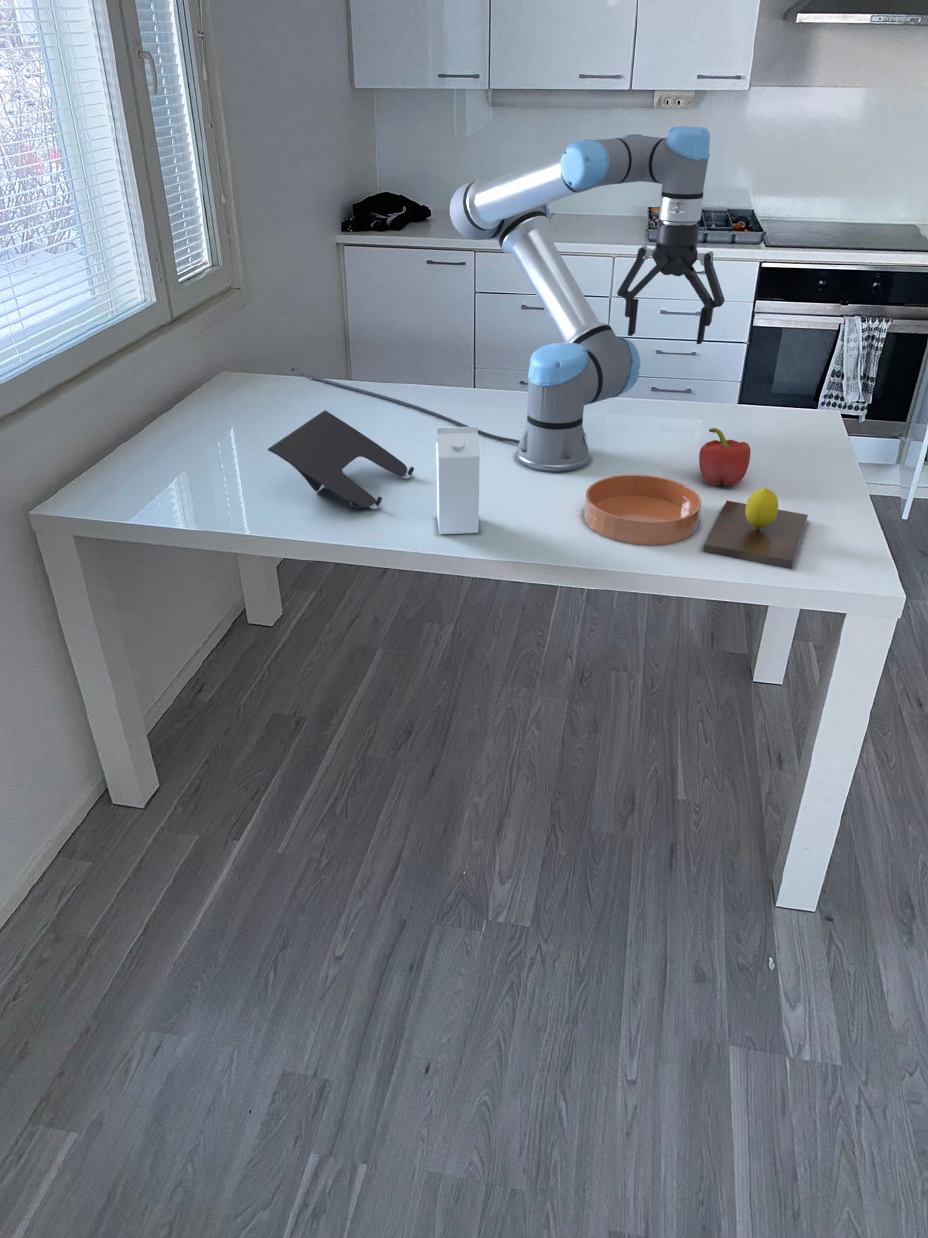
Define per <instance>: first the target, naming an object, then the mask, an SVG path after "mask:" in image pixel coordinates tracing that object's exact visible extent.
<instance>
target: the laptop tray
mask: <svg viewBox="0 0 928 1238" xmlns="http://www.w3.org/2000/svg"><path fill="white" fill-rule="evenodd" d="M267 451H268V452H271V453H272V454H274V455H276V456H277V457H279V458H280V459H283V460H284V461H285V462H287V463H288V464H289V465H291V466H292V467H293V468H294V469H295V470H296V471H297V472H298V473H299V474H300V475H301V476H302V477H303V478H304V480H306V482H307V483H308V485H309V486H310V487H311V489H312V490H313V492H318V491H319V490H320V489H321V487H322V486H324V487H326V488H327V489H329V490H331V491H332V492H334V493H336V494H337V495H339V496H341V497H342V498H344V499H346V500H347V501H349V502H348V503H349V504H350V507H352V508H356V509H360V507H362V508H370V509H372V510H376V509H378V508H379V506H381V505H380V504H381V503H382V500H383V497H381V496H377V497H374V496H373V495H372V494H370V492H368V491H367V490H366V489H364V488H363V487H362V486H360V485H359V483H357V482H355V481H354V480H353V479H351V478H350V477H349V476H347V475H346V474H345V473H344V471H343V469H344V468H345V467H347V466H348V465H349V464H350V463H351V462H353V461H354V460H355V459H357V458H365V459H367V460H369V461H371V462H372V463H373V464H375V465H377V466H379V467H381V468H383V469H384V470H386V471H388V472H390V473H392V474H394V475H396V476H398V477H400V478H403V479H409V478H410V477H411V476H412V474H413V472H414V470H415V468H414V467H413V466H410V467H409V468H408V467H407V465H406V464H405V463H404V462H402V460H400V459H399V458H397V457H396V456H394V455H393V454H392V453H391V452H389V451H388V450H387V449H385V448H383V447H382V446H380V444H378V443H377V442H375V441H373V440H372V439H371V438H369V437H368V436H366V435H364V434H363V433H362V432H360V431H359V430H357V429H356V428H354V427H353V426H351V425H350V424H348V423H346V422H345V421H343V420H342V419H340V418H338V417H337V416H335V415H334V414H332V413H331V412H329V411H327V410H326V409H325V410H323V411H321V412H320V413H318V414H317V415H315V416H314V417H312V418H311V419H309V420H308V421H307V422H305V423H303V424H302V425H300V426H298V428H296V429H295V430H293V431H292V432H291V433H289V434H287V435H286V436H284V437H283V438H281V439H280V440H278V441H277V442H275V443H273V444H272V445H271V446H270V447H268V448H267Z"/></svg>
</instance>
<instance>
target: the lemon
mask: <svg viewBox="0 0 928 1238" xmlns="http://www.w3.org/2000/svg"><path fill="white" fill-rule="evenodd" d="M745 504H746V509H745V513H746V518H747V520H748V522H749V523H750V524H751V525H753V526H755V528H756V529H761V528H762V527H766V526H768V525H770V524H771V523H772V522H773V521H774V520H775V518H776V516H777V513H778V510H779V499H778V497H777V495H776V493H774V492H773V491H772V490H770V489H769V488H768V487H763V488H759V489H757V490H754V492H752V493H751V494H750V496H748V499H747V502H746V503H745Z"/></svg>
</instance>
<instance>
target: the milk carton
mask: <svg viewBox="0 0 928 1238" xmlns="http://www.w3.org/2000/svg"><path fill="white" fill-rule="evenodd" d="M478 430H479V427H478V426H469V427H461V426H451V427H450V426H447V427H443V426H442V427H436V440H435V448H436V449H435V452H436V455H435V457H436V458H435V459H436V518H437V527H438V533H439V535H456V534H457V535H458V534H459V535H460V534H478V533H479V528H480V527H479V526H480V525H479V521H480V443H479V441H480V440H479V433H478Z"/></svg>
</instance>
